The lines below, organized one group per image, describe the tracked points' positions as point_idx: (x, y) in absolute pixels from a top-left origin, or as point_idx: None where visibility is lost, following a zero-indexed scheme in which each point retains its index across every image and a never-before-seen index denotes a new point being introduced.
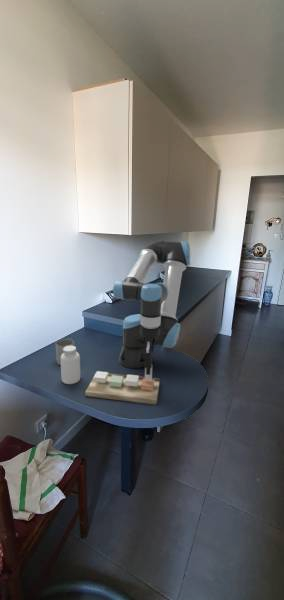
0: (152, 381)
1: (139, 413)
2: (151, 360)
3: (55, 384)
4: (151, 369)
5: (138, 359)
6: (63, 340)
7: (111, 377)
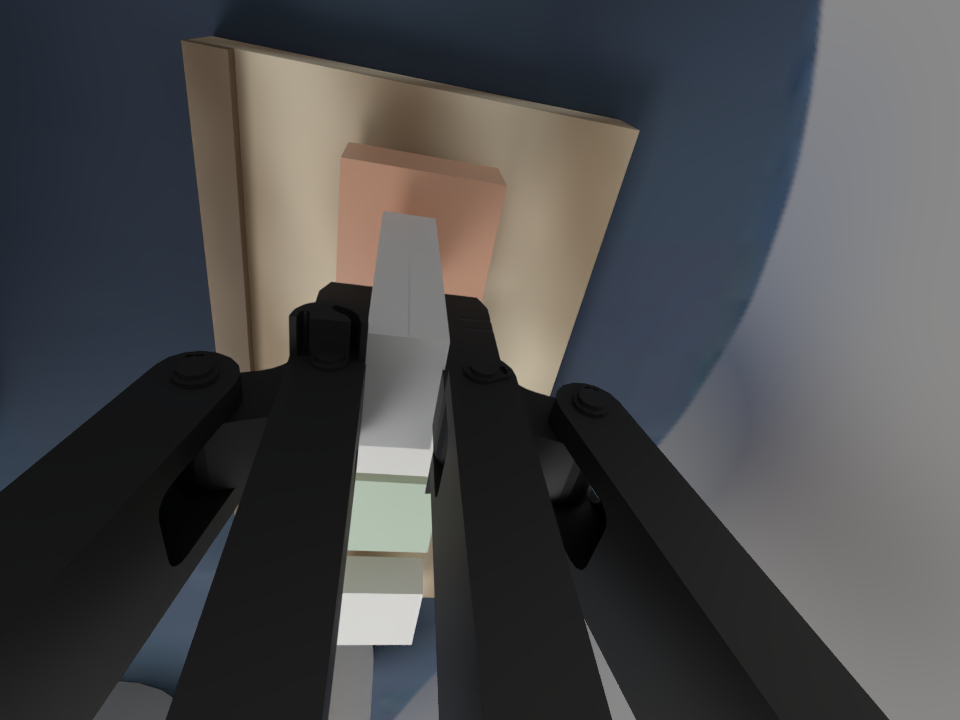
0: (390, 189)
1: (704, 276)
2: (549, 497)
3: (380, 677)
4: (445, 314)
5: None
6: None
7: (364, 548)
